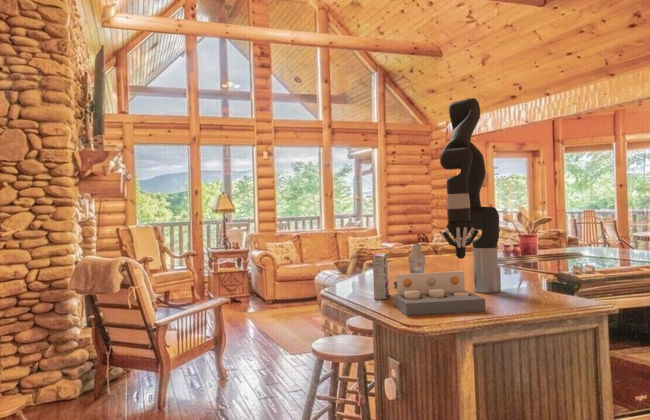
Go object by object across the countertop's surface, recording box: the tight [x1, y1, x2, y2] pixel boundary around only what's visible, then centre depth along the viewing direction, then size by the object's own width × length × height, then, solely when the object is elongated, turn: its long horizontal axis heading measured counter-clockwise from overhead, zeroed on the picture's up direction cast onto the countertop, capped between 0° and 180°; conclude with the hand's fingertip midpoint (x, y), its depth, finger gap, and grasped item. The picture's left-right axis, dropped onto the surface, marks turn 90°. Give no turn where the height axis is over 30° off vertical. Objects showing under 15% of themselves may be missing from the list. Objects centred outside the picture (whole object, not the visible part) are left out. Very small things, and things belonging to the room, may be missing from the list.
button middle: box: [429, 289, 444, 298], centre depth 161 cm, size 5×5×3 cm
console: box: [393, 270, 487, 317], centre depth 160 cm, size 26×16×11 cm, turn 95°
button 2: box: [453, 292, 469, 297], centre depth 162 cm, size 5×5×3 cm
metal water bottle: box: [407, 243, 426, 274], centre depth 180 cm, size 6×7×20 cm
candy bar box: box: [372, 252, 390, 301], centre depth 184 cm, size 11×5×16 cm, turn 168°
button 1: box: [404, 290, 420, 299], centre depth 161 cm, size 5×5×3 cm
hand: (460, 258), depth 162 cm, fingers closed
